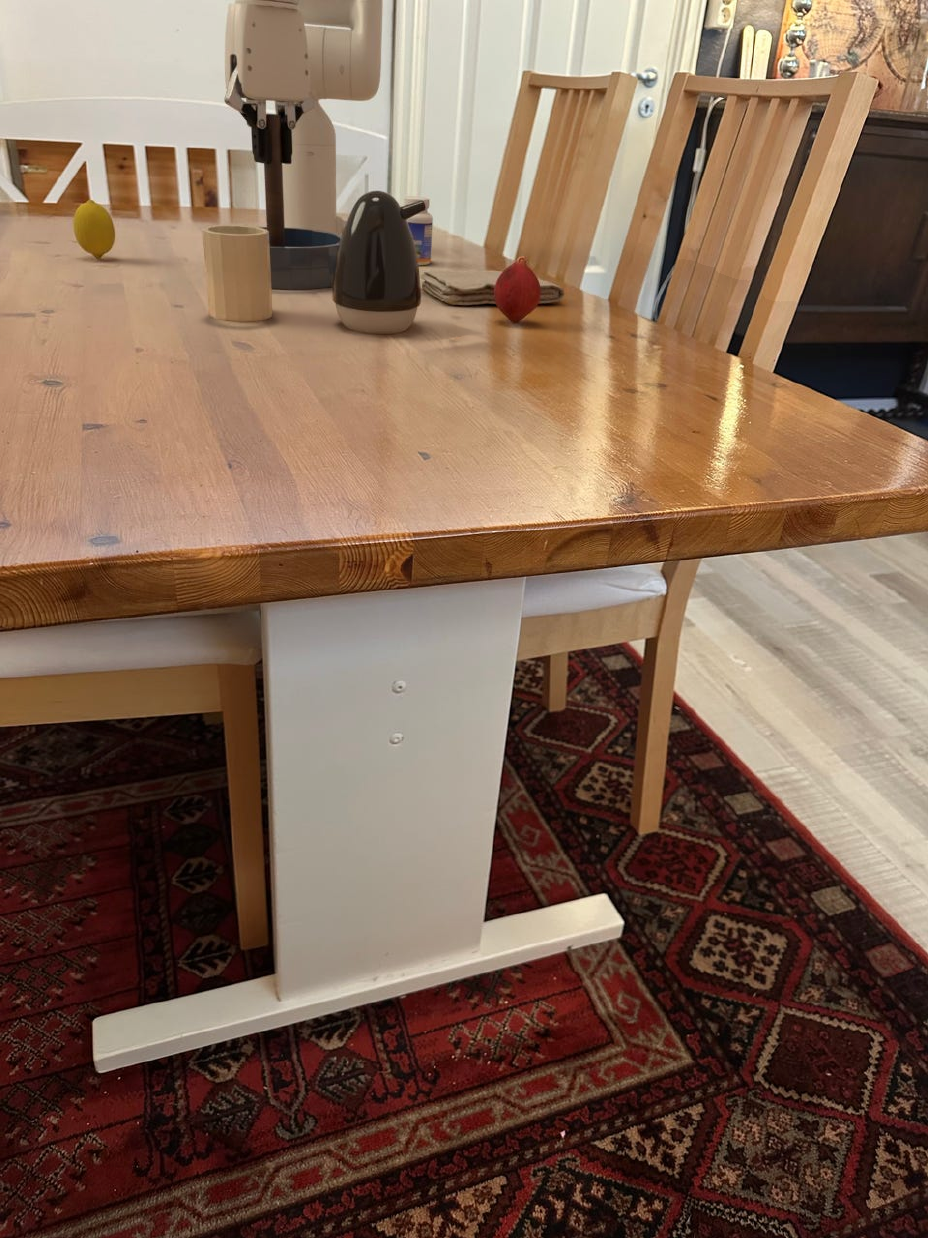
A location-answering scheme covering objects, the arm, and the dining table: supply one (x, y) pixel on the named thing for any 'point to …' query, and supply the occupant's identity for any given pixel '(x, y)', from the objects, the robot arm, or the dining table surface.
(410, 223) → the pill bottle
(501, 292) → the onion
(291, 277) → the bowl
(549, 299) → the washcloth
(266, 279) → the crock
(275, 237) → the stick
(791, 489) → the dining table surface
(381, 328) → the pump dispenser
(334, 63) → the robot arm
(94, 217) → the lemon
